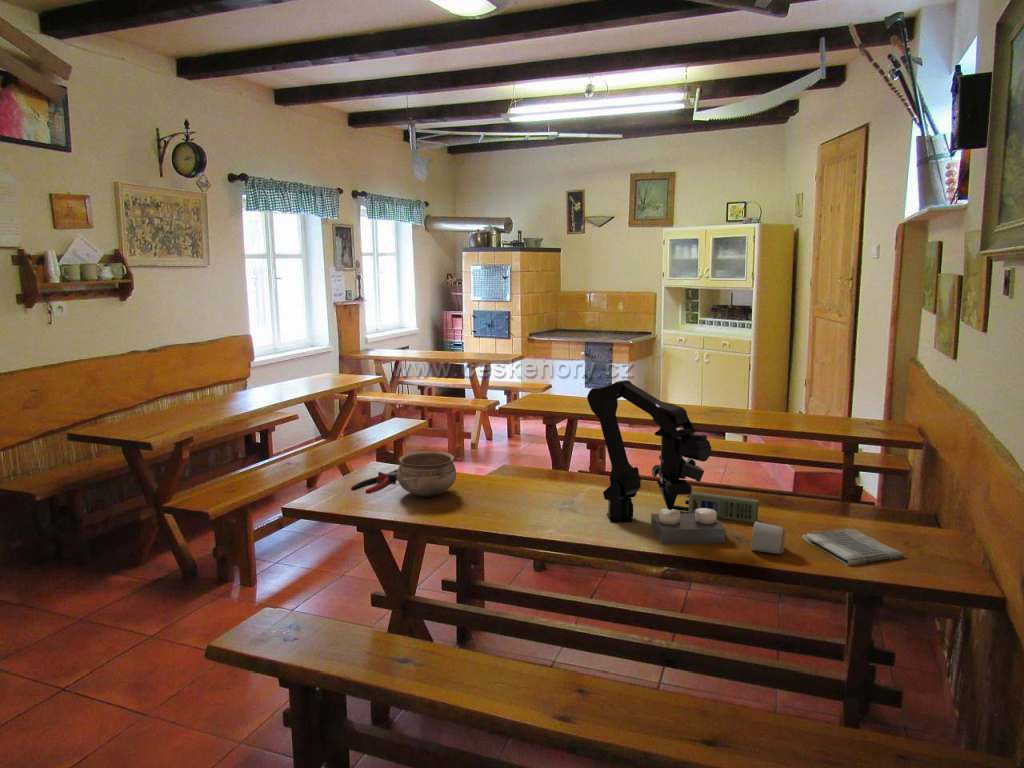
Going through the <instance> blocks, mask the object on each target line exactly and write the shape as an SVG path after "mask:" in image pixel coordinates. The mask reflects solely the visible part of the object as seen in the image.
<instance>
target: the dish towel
mask: <svg viewBox="0 0 1024 768" xmlns="http://www.w3.org/2000/svg"><path fill="white" fill-rule="evenodd" d="M802 539H803V540H804V542H805V541H806V542H805V543H807V542H808V543H809V545H810V544H812V545H814V546H816V547H817V548H816V547H815V548H816V549H818V548H819V549H821V550H822V551H821V550H820V551H821V552H823V551H824V552H823V553H825V552H826V553H825V554H827V553H828V554H829V555H828V554H827V555H828V556H830V555H831V556H830V557H832V556H833V557H832V558H834V557H835V558H836V560H837V559H838V560H837V561H839V560H840V561H839V562H841V563H843V564H844V563H845V564H844V565H846V566H847V567H849V566H850V567H851V566H857V565H863V564H865V565H866V564H870V563H877V562H885V561H893V560H899V559H903V558H904V557H905V556H904V552H903V551H901V550H897V549H895V548H893V547H890V546H888V545H886V544H884V543H881V542H880V541H879V540H876V539H874V538H872V537H870V536H867V535H866V534H864V533H862V532H860V531H859V530H858V529H856V528H855V529H853V528H845V529H843V528H841V529H837V530H834V529H830V530H829V529H828V530H821V531H816V530H815V531H809V533H807V534H803V535H801V540H802ZM803 540H802V541H803ZM808 543H807V544H808ZM812 545H811V546H812ZM814 546H813V547H814ZM819 549H818V550H819ZM835 558H834V559H835Z"/></svg>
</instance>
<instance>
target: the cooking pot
mask: <svg viewBox="0 0 1024 768" xmlns="http://www.w3.org/2000/svg"><path fill="white" fill-rule="evenodd" d="M454 459H455V456H454V455H453V454H451V453H448V452H445V451H444V452H443V451H437V450H435V451H434V450H426V451H425V450H424V451H416V452H415V451H414V452H410V453H406V454H403V455H402V456H400V457H399V459H398V461H399V462H400V464H399V467H398V468H397V469H398V472H397V477H396V480H397V482H398V484H399V485H400V487H401V488H402V489H403V490H404V491H406V492H408V493H410V494H413V495H414V496H416V497H418V498H422V499H431V498H435V497H437V496H439V495H440V494H442V493H443V492H445V491H447V490H449V489H450V488H451V487H452V486H453V484H454V483H455V482H456V478H457V470H456V466H455V464H454V461H453V460H454Z"/></svg>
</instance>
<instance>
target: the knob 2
mask: <svg viewBox="0 0 1024 768" xmlns="http://www.w3.org/2000/svg"><path fill="white" fill-rule="evenodd" d="M716 514H717V512H716V511H715V510H712V509H708V508H699V509H696V510H695V521H697V522H698V523H699V524H715V523H716V519H717V518H716Z"/></svg>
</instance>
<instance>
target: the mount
mask: <svg viewBox="0 0 1024 768" xmlns="http://www.w3.org/2000/svg"><path fill="white" fill-rule="evenodd" d="M650 519H651V520H650V528H651V530H652V531H653V533H654V534H655V536H656V538H657V539H658V541H659V543H660V544H661V545H679V544H680V545H681V544H683V545H684V544H685V545H686V544H690V545H691V544H725V543H726V527H725V526H723V524H722V523H721V522H720V521H719V520H718V518H716V523H715V524H699V523H698V522H697V521H695V513H686V512H684V513H683V512H682V513H681V512H680V522H679V523H678V525H662V523H661V522H660V521H659V513H651V515H650Z"/></svg>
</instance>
